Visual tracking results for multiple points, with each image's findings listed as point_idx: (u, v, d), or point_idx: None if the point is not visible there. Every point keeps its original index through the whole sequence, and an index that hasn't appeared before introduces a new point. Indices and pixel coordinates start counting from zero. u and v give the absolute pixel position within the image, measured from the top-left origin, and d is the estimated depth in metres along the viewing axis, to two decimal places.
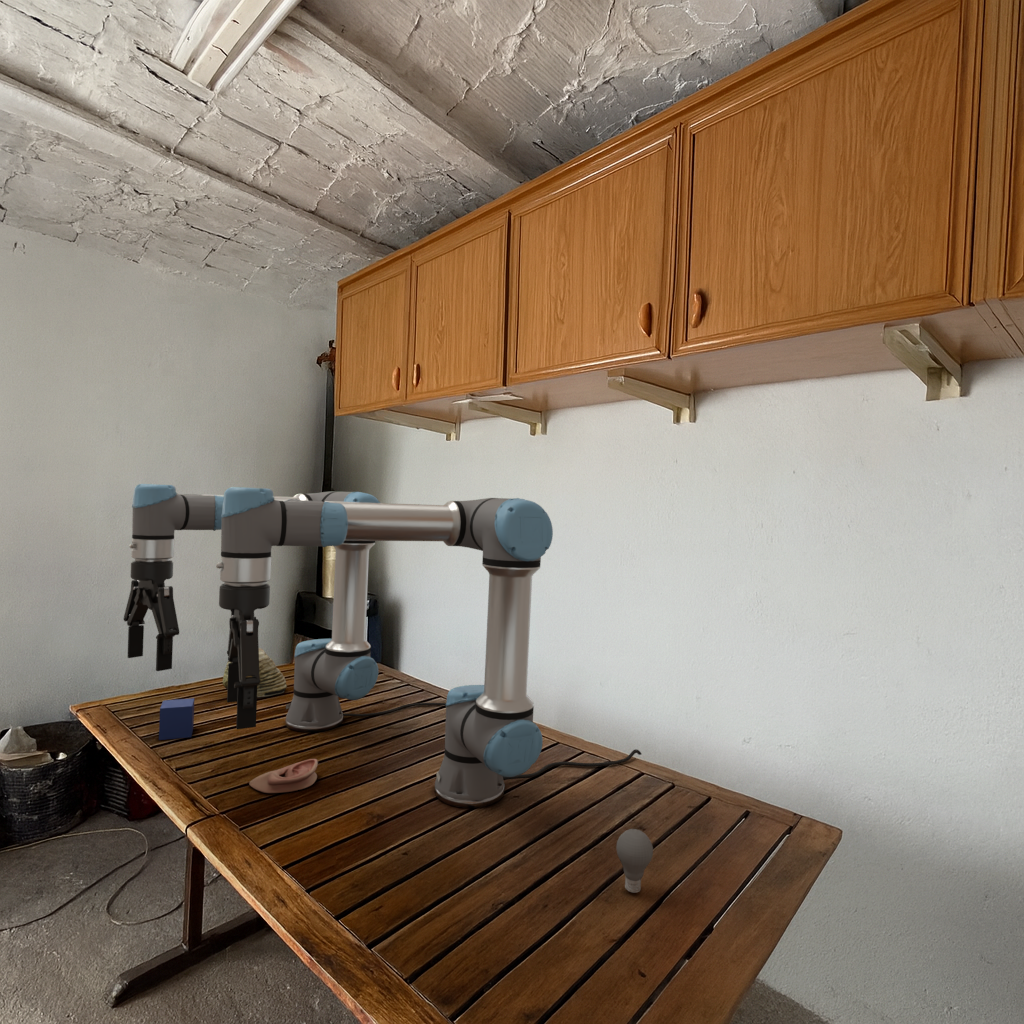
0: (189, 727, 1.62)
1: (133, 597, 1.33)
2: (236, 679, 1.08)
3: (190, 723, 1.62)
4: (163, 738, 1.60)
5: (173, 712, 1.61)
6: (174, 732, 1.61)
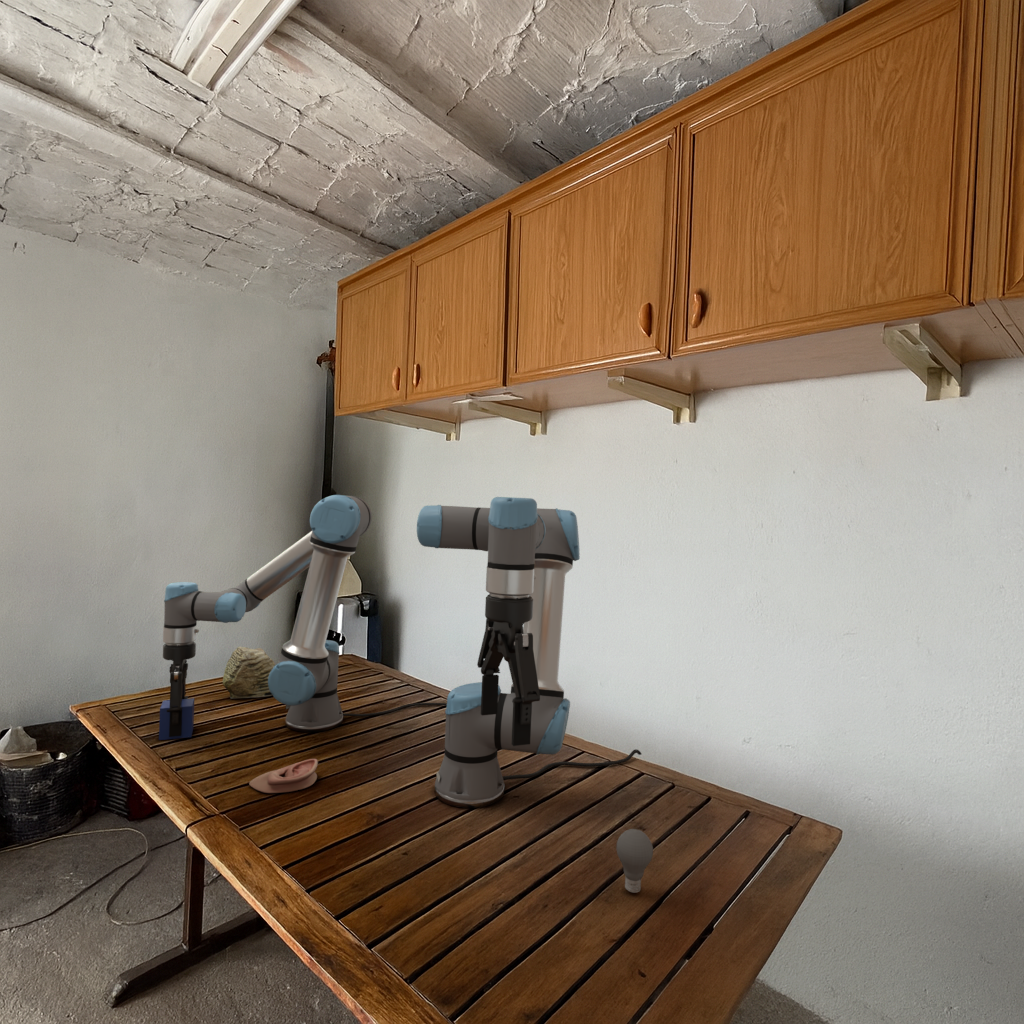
0: (189, 727, 1.62)
1: None
2: None
3: (190, 723, 1.62)
4: (163, 738, 1.60)
5: None
6: None
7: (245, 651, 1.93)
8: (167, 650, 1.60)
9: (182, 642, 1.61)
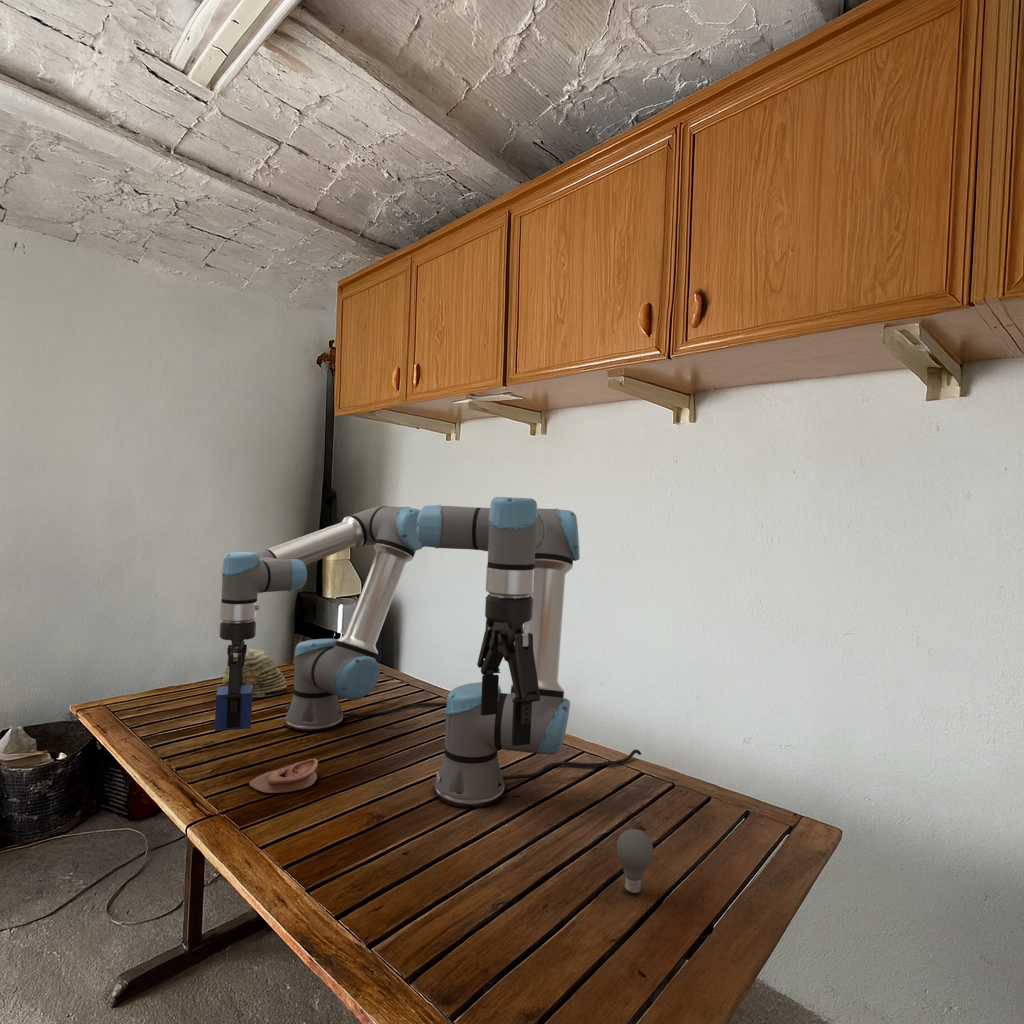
0: (248, 717, 1.42)
1: None
2: None
3: (249, 712, 1.42)
4: (219, 729, 1.40)
5: None
6: None
7: None
8: (226, 629, 1.40)
9: (242, 620, 1.41)
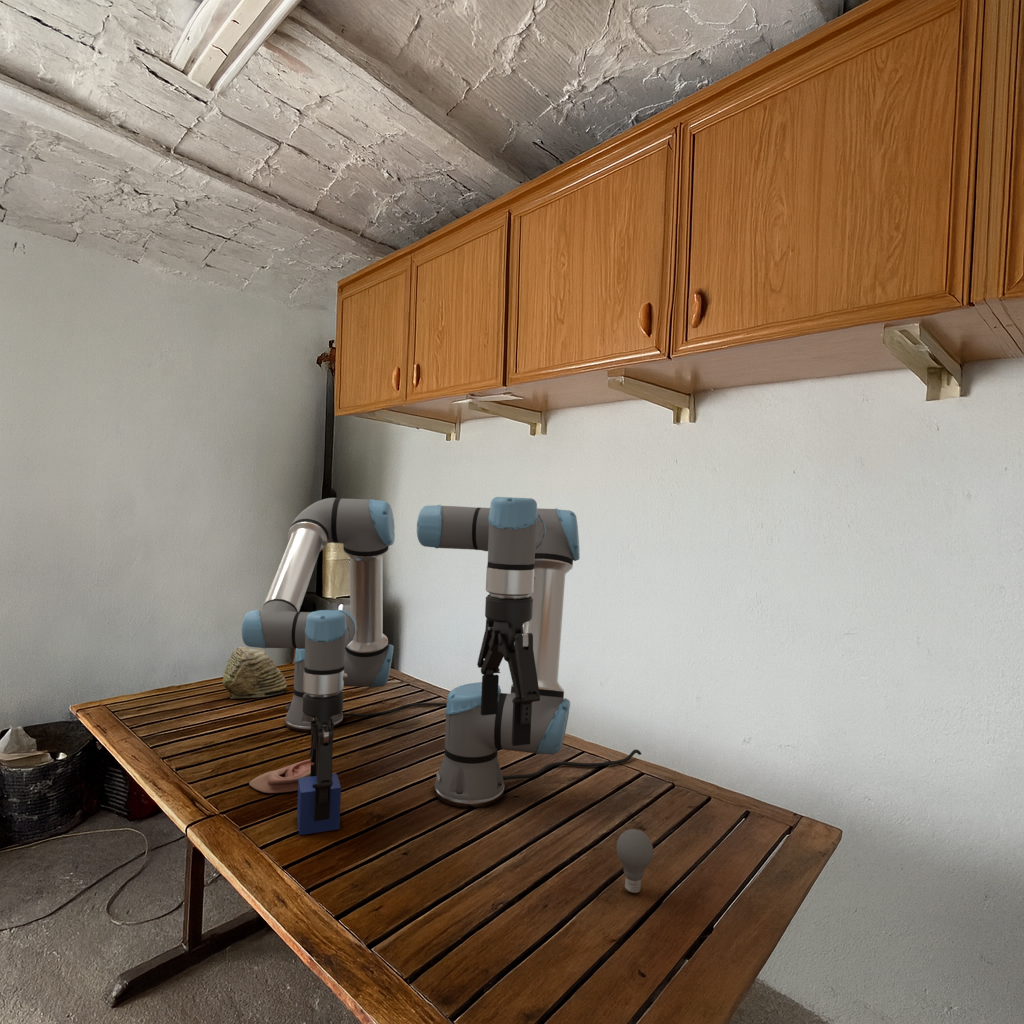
0: (337, 816, 1.21)
1: None
2: None
3: (338, 810, 1.21)
4: (305, 832, 1.19)
5: None
6: (319, 823, 1.20)
7: (245, 651, 1.93)
8: (311, 704, 1.19)
9: (330, 693, 1.19)
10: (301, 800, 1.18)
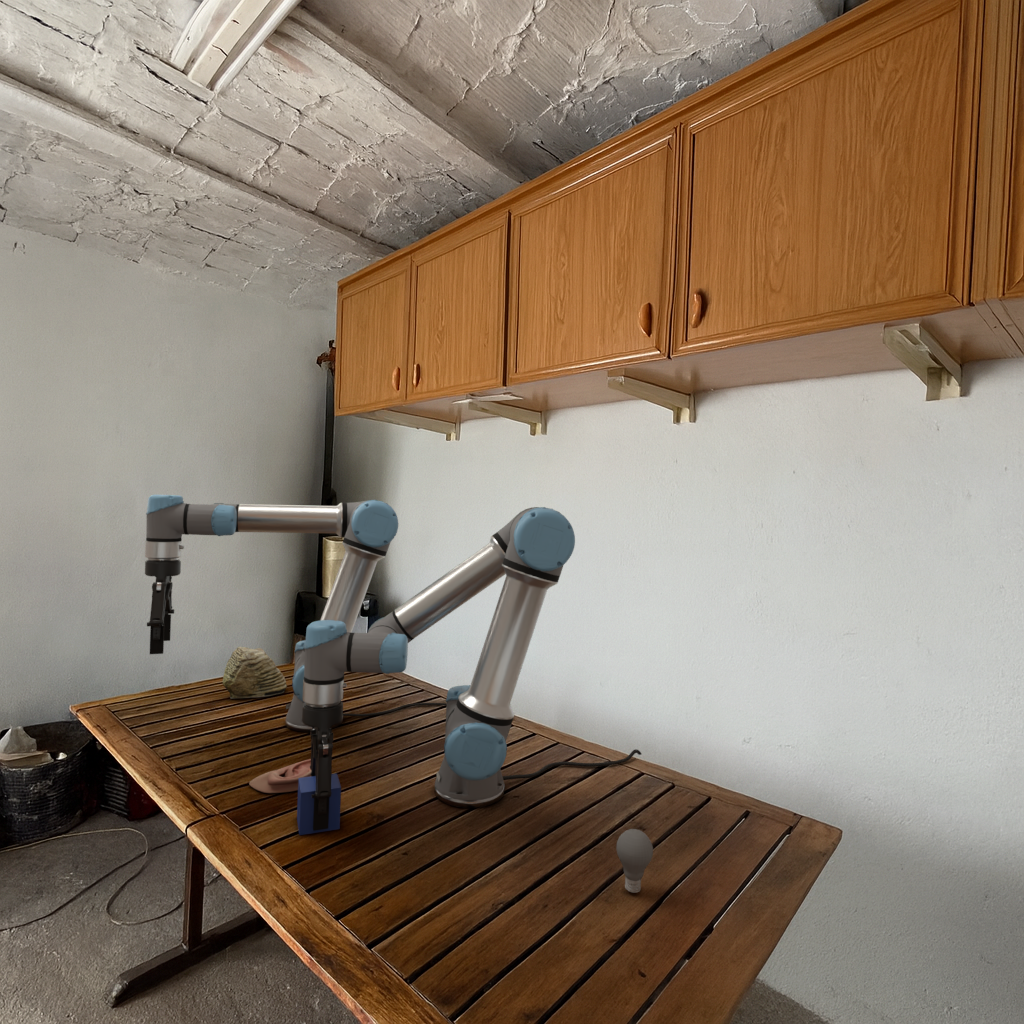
0: (337, 816, 1.21)
1: None
2: None
3: (338, 810, 1.21)
4: (305, 832, 1.19)
5: None
6: None
7: (245, 651, 1.93)
8: (150, 565, 1.48)
9: (165, 557, 1.49)
10: (301, 800, 1.18)
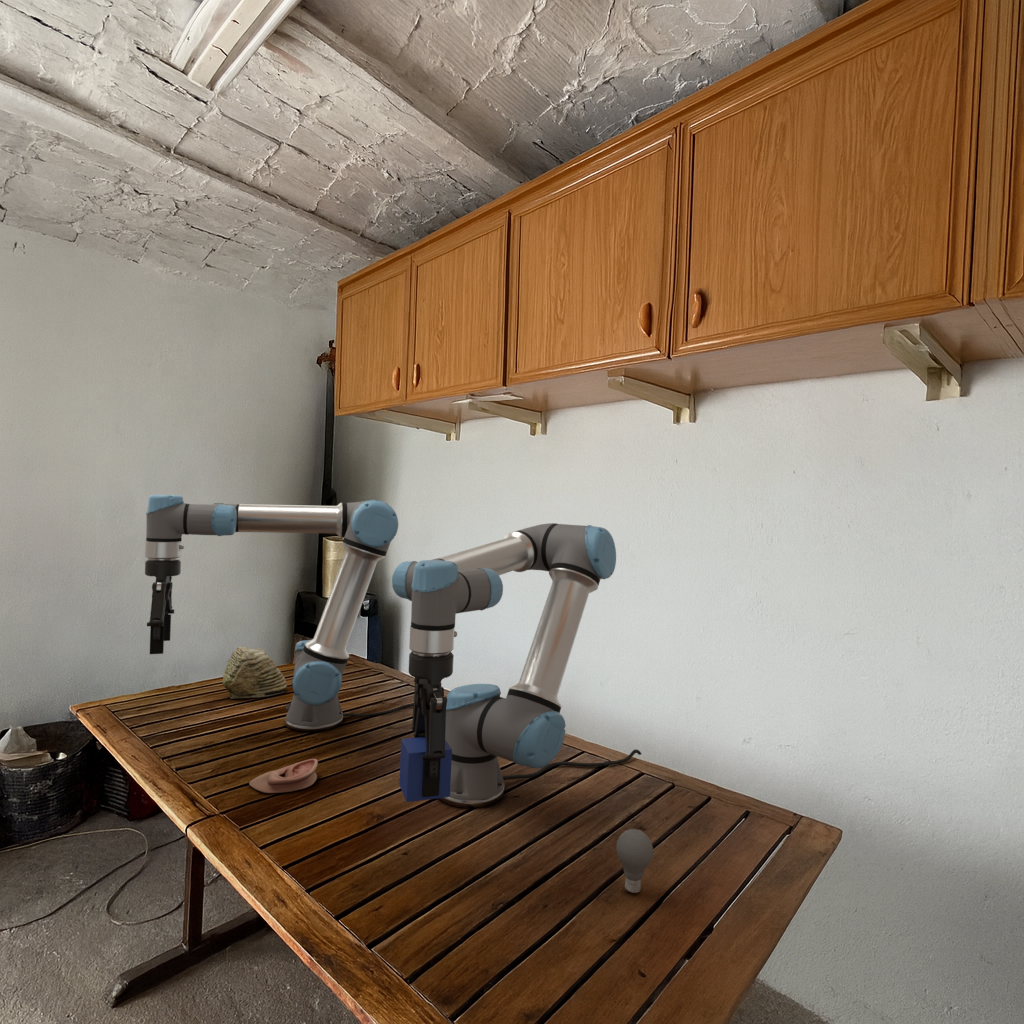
0: (447, 782, 1.06)
1: None
2: None
3: (449, 775, 1.06)
4: (412, 799, 1.04)
5: None
6: None
7: (245, 651, 1.93)
8: (150, 565, 1.48)
9: (165, 557, 1.49)
10: (409, 762, 1.04)
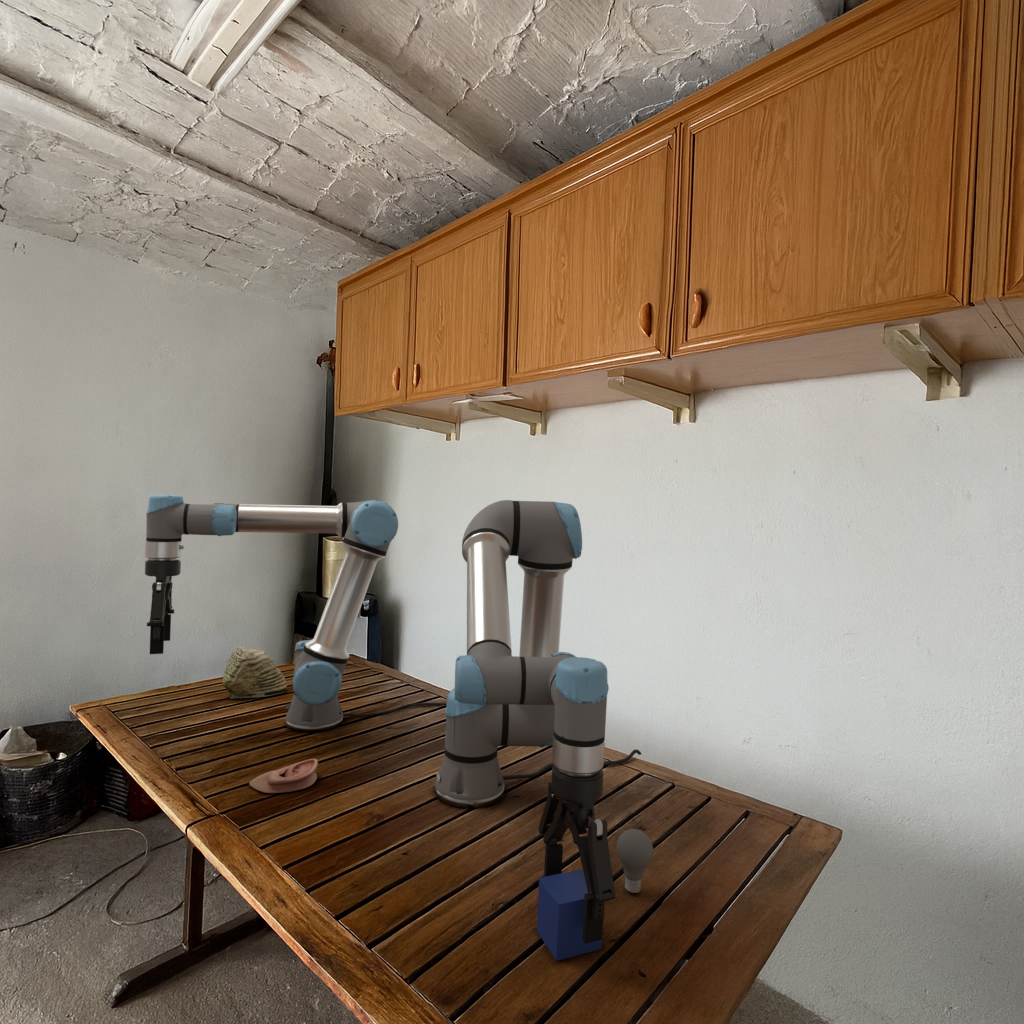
0: None
1: None
2: None
3: None
4: (562, 957, 0.89)
5: (577, 908, 0.90)
6: (579, 943, 0.90)
7: (245, 651, 1.93)
8: (150, 565, 1.48)
9: (165, 557, 1.49)
10: (559, 914, 0.89)
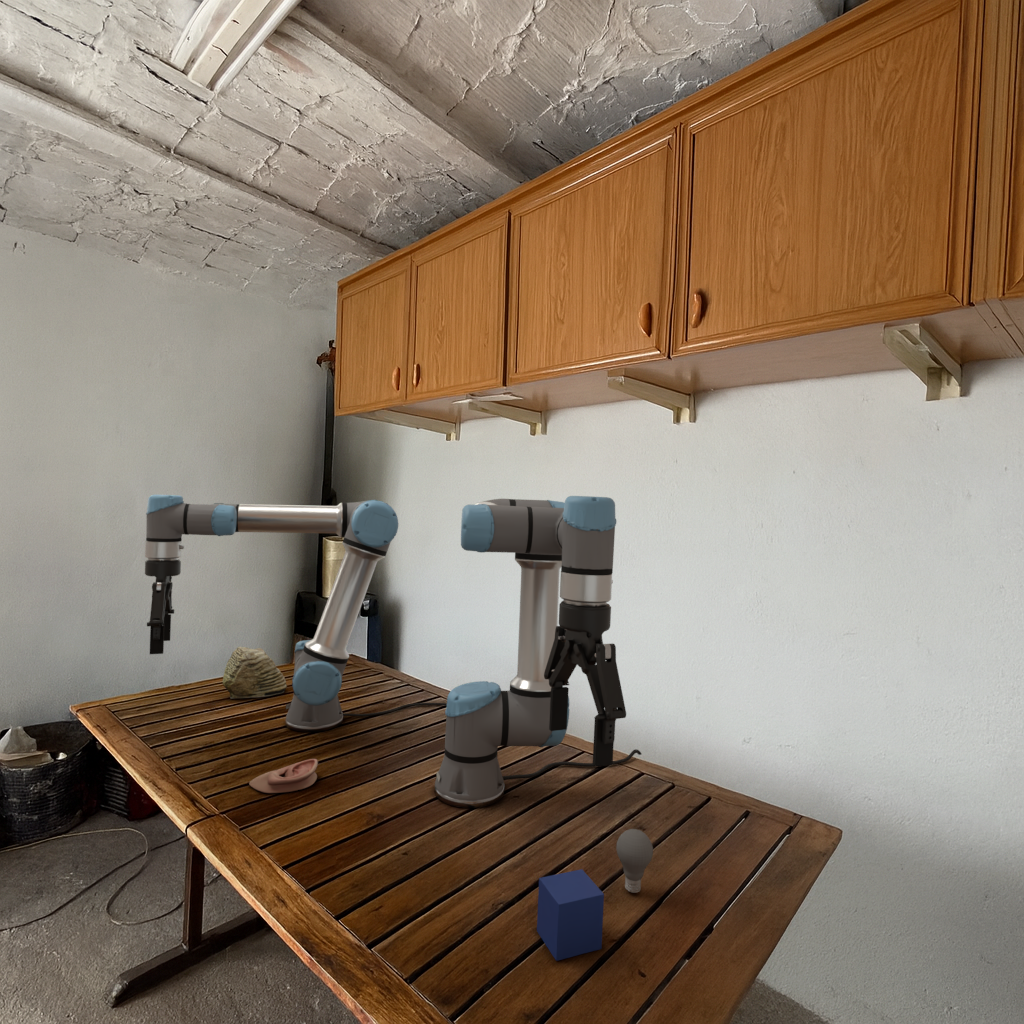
0: (599, 932, 0.91)
1: None
2: None
3: (601, 925, 0.92)
4: (562, 957, 0.89)
5: (577, 908, 0.90)
6: (579, 943, 0.90)
7: (245, 651, 1.93)
8: (150, 565, 1.48)
9: (165, 557, 1.49)
10: (559, 914, 0.89)
